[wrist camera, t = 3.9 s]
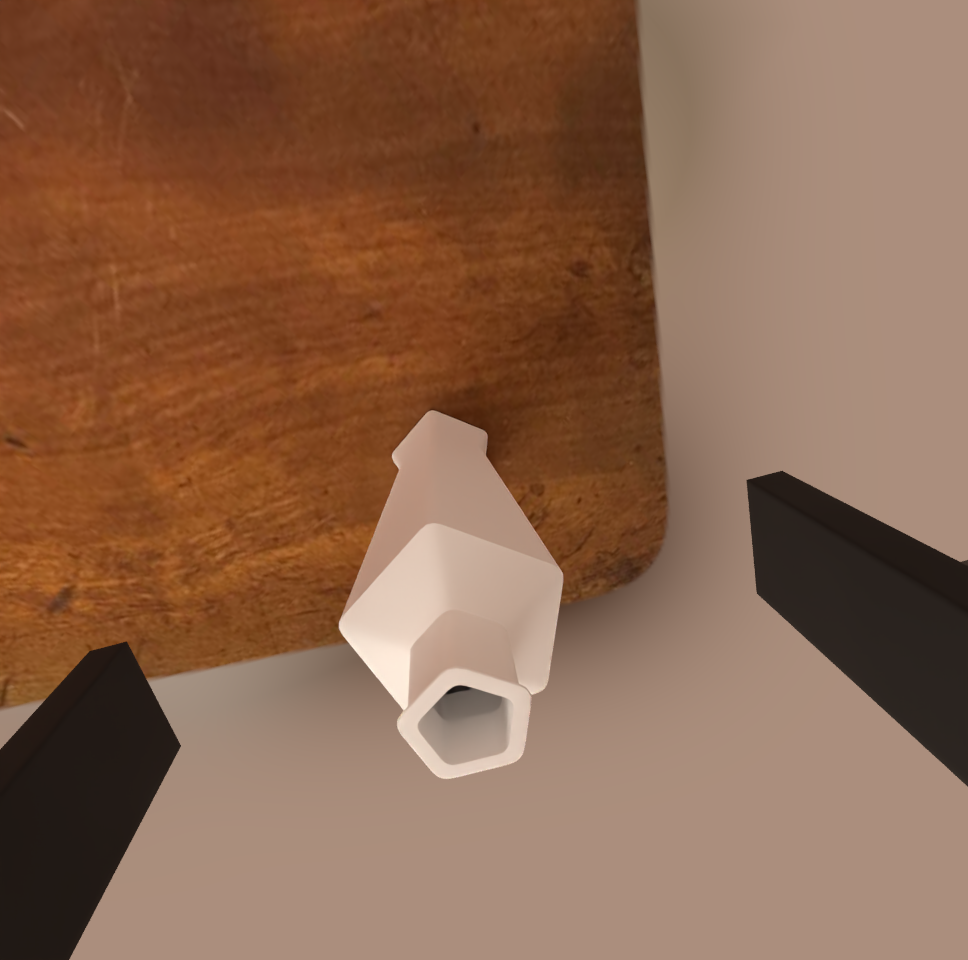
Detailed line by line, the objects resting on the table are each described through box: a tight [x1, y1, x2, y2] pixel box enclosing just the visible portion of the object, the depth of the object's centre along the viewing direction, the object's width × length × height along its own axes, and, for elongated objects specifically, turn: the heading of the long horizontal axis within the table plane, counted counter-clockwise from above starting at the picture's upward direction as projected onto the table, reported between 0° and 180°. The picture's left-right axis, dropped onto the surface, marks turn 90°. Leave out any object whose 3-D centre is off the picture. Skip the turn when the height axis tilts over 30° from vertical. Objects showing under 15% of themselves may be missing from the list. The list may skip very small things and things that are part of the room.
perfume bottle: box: [339, 410, 563, 779], centre depth 16 cm, size 5×4×15 cm
